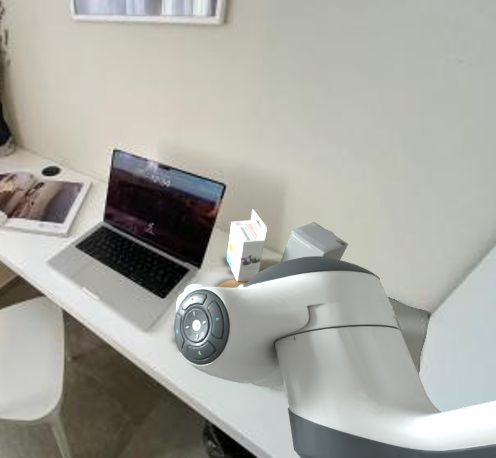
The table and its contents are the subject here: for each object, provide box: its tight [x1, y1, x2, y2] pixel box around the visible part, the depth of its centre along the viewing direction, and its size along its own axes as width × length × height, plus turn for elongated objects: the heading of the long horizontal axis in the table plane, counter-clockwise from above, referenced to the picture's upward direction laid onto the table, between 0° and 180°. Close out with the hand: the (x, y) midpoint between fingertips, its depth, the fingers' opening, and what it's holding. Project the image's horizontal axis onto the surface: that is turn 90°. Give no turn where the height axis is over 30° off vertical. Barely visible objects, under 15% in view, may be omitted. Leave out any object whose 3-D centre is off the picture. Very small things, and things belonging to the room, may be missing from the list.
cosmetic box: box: [280, 221, 349, 263], centre depth 76 cm, size 8×7×16 cm
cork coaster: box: [218, 279, 248, 288], centre depth 81 cm, size 9×9×1 cm
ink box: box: [225, 209, 268, 282], centre depth 83 cm, size 8×5×15 cm, turn 1°
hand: (315, 361), depth 51 cm, fingers open, 8 cm apart
